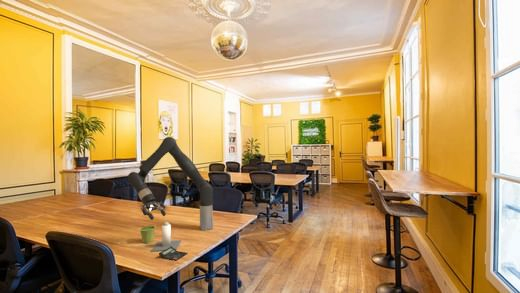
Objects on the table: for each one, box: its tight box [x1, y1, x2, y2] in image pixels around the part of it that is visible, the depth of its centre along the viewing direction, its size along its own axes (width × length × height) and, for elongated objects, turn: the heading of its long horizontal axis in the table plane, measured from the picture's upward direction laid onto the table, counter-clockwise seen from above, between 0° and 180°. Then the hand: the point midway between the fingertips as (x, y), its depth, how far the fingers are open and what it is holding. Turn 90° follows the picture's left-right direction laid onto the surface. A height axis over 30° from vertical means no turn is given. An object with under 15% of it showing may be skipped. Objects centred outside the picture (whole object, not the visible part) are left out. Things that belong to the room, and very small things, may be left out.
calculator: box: [158, 246, 188, 262], centre depth 133 cm, size 9×12×3 cm
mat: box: [150, 239, 182, 253], centre depth 146 cm, size 14×14×1 cm
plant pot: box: [139, 225, 157, 244], centre depth 154 cm, size 9×9×9 cm
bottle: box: [161, 221, 172, 247], centre depth 146 cm, size 5×5×14 cm
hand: (159, 217), depth 149 cm, fingers open, 8 cm apart
